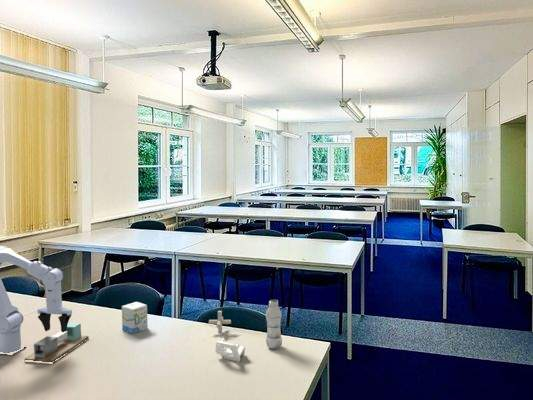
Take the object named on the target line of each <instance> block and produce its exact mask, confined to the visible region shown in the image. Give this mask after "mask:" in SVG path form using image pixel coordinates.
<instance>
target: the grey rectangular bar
mask: <svg viewBox="0 0 533 400" xmlns="http://www.w3.org/2000/svg"><path fill="white" fill-rule="evenodd" d="M51 337H57V345H58V344H59V343H61V342H62V341H64V340H66V339H67V338H68V337H67V331H65V332H61V330H60V331H59V332H57V333H54V335H51ZM39 346H40V351H43V346H41V345H39Z"/></svg>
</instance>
